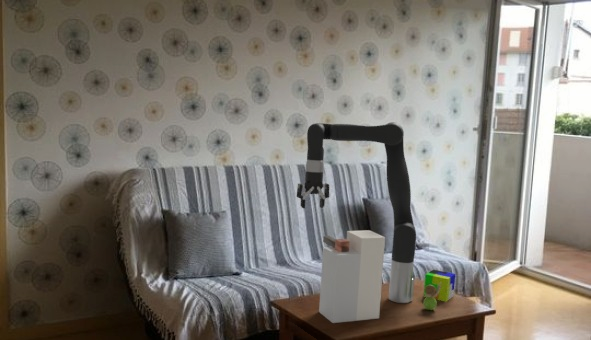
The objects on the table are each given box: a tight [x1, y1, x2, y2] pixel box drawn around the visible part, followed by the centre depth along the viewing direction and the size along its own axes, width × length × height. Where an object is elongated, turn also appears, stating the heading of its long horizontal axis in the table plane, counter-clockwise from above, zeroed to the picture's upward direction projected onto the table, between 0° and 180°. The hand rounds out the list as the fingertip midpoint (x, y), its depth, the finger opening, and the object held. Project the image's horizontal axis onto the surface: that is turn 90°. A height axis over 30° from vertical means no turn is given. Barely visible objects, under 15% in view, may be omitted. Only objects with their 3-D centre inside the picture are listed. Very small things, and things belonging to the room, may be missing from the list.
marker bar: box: [322, 235, 350, 252], centre depth 241 cm, size 4×16×4 cm, turn 23°
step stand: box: [318, 229, 386, 324], centre depth 239 cm, size 20×12×32 cm, turn 113°
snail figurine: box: [422, 282, 441, 311], centre depth 251 cm, size 5×6×12 cm
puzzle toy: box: [423, 269, 456, 302], centre depth 270 cm, size 10×10×10 cm
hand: (312, 207), depth 265 cm, fingers open, 8 cm apart
